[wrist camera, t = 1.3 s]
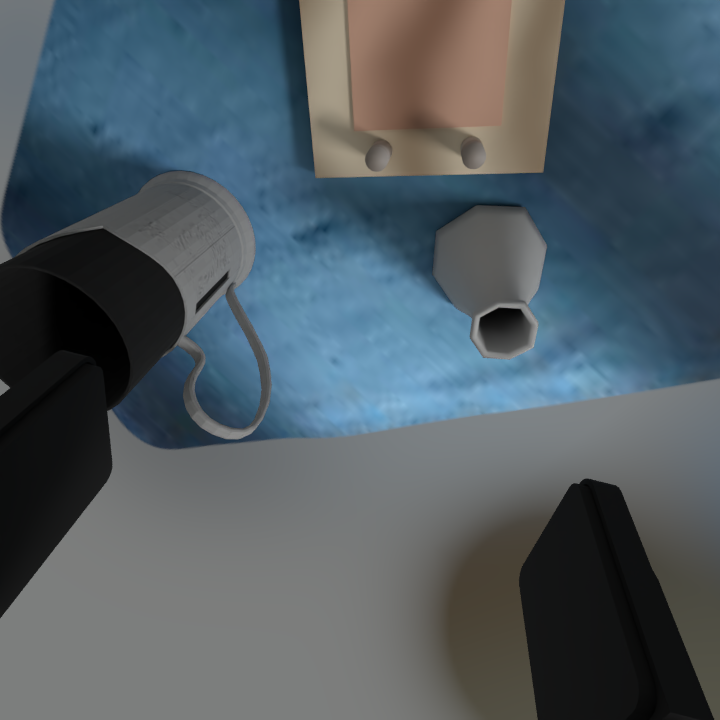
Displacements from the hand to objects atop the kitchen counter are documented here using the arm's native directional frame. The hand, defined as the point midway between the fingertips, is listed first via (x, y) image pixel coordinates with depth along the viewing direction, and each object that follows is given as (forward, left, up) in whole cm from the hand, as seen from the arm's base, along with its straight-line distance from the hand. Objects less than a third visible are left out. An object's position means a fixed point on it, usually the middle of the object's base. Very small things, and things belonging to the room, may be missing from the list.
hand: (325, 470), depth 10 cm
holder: (+12, +5, -25) cm, 28 cm away
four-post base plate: (-1, -7, -25) cm, 26 cm away
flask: (-5, +5, -25) cm, 26 cm away
